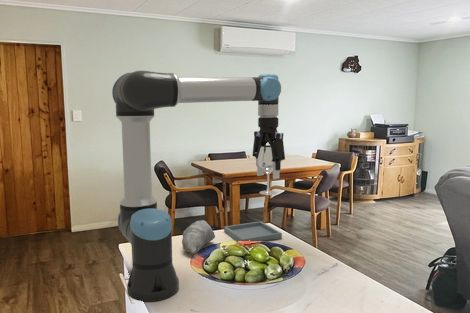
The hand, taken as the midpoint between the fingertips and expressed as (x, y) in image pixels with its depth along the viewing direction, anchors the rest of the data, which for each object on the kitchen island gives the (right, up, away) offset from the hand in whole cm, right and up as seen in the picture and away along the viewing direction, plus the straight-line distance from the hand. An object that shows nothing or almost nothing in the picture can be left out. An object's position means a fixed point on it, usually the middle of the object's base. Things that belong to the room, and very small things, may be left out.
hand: (268, 176), depth 149 cm
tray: (-5, -25, +16) cm, 31 cm away
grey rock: (-27, -28, +2) cm, 39 cm away
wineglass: (0, -6, +1) cm, 6 cm away
